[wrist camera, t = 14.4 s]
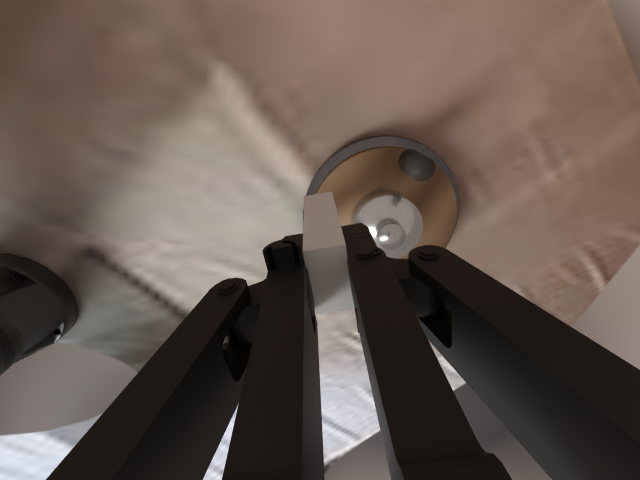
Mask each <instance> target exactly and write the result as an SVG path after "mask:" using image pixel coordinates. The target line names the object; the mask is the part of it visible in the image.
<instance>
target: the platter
mask: <svg viewBox="0 0 640 480" xmlns="http://www.w3.org/2000/svg"><path fill="white" fill-rule="evenodd" d="M381 189H391V190H395V191H398V192H400V193H402V194H404V195H405V196H406V197H407V198H408V199H409V200H410V201H411V202H412V203H413V204H414V205H415V206H416V207H417V209H418V210H419V212H420V213H421V216H422V219H423V232H422V236H421V238H420V240H419V242H418V244H417V245H416V246H415V247H414V248H416V247H419V246H423V245H434V246H440V247H443V248H446V246H447V244H448V243H449V241H450V239H451V236H452V234H453V231H454V228H455V225H456V219H457V202H456V196H455V192H454V189H453V187H452V184H451V182H450V180H449V179H448V177H447V176H446V174H445V173H444V172H443V171H442V169H441V168H440V167H439V166H438V165H437V164H435V163H434V161H433V160H432V159H431V158H429V157H427V156H425V155H423V154H421V153H419V152H418V151H416V150H414V149H406V148H402V147H395V146H379V147H374V148H369V149H366V150H362V151H359V152H357V153H355V154H353V155H351V156H349V157H347V158H346V159H344V160H343V161H341V162H340V163H339V164H338V165H336V166H335V167H334V168H333V169H332V170H331V171H330V172H329V173H328V174H327V176H326V177H325V179H324V180H323V181H322V183H321V185H320V186H319V188H318V190H317V192H316V194H320V193H325V192H331V191H332V194H333V198H334V201H335V205H336V209H337V213H338V217H339V221H340V225H341V226H345V225H351V215H352V212H353V209H354V207H355V206H356V204H357V203H358V202H359V201H360V200H361V199H362V198H363V197H364V196H366V195H367V194H369V193H371V192H373V191H376V190H381ZM408 254H409V253H408ZM408 254H406V255H405V256H403V257H401V258H398V259H408Z"/></svg>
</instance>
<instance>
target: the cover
mask: <svg viewBox="0 0 640 480" xmlns="http://www.w3.org/2000/svg"><path fill="white" fill-rule="evenodd" d="M357 223H363V224H364V225H366V226H368V228H369V230H370V232H371V234H372V237H373V239H374V241H375V243H376V245H377V247H378V248H381V249H382V250H383V251H384V252H385V254H386V256H387V257H390V258H397V259H398V258H401V257H403V256H405V255H406V254H408V253H409V252H410V251H411V250H412V249H414V247H415V246H416V245H417V244H418V242H419V240H420V238H421V236H422V232H423V219H422V216H421V213H420V212H419V210H418V209H417V207H416V206H415V205H414V204H413V203H412V202H411V201H410V200H409V199H408V198H407V197H406V196H405V195H404V194H402V193H400V192H398V191H395V190H391V189H381V190H376V191H373V192H371V193H369V194H367V195H366V196H364V197H363V198H362V199H361V200H360V201H359V202H358V203H357V204H356V206H355V207H354V209H353V212H352V215H351V224H357Z"/></svg>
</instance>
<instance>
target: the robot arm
mask: <svg viewBox="0 0 640 480" xmlns="http://www.w3.org/2000/svg"><path fill="white" fill-rule="evenodd" d="M263 255H264V258H265V262H266V266H267V269H268V274H267V278H266V279H265V280H263V281H261V282H259V283H256V284H253V285H250V286H248V285H247V282H246V280H244V279H242V278H232V279H231V278H229V279H226V280H223V281H221V282H220V283H218V284H216V285H215V286H213V287H212V288H211V289H210V290H209V291H208V293H207V294H206V295H205V296H204V297H203V298H202V299H201V301H200V302H199V303H198V304H197V305H196V306H195V308H194V309H193V310H192V311H191V312H190V313H189V315H188V316H187V317H186V318H185V319H184V320H183V321H182V323H181V324H180V325H179V326H178V327H177V328H176V330H175V331H174V332H173V333H172V334H171V335H170V337H169V338H168V339H167V340H166V341H165V342H164V343H163V345H162V346H161V347H160V348H159V349H158V350H157V352H156V353H155V354H154V355H153V356H152V357H151V359H150V360H149V361H148V362H147V363H146V364H145V366H144V367H143V368H142V369H141V370H140V371H139V372H138V374H137V375H136V376H135V377H134V378H133V379H132V381H131V382H130V383H129V384H128V385H127V386H126V388H125V389H124V390H123V391H122V392H121V393H120V394H119V396H118V397H117V398H116V399H115V400H114V401H113V403H112V404H111V405H110V406H109V407H108V408H107V410H106V411H105V412H104V413H103V414H102V415H101V416H100V418H99V419H98V420H97V421H96V422H95V423H94V425H93V426H92V427H91V428H90V429H89V430H88V432H87V433H86V434H85V435H84V436H83V437H82V438H81V440H80V441H79V442H78V443H77V444H76V445H75V447H74V448H73V449H72V450H71V451H70V452H69V454H68V455H67V456H66V457H65V458H64V459H63V460H62V462H61V463H60V464H59V465H58V466H57V467H56V469H55V470H54V471H53V472H52V473H51V474H50V476H49V477H48V478H47V479H46V480H203V478H204V476H205V473H206V471H207V469H208V467H209V465H210V463H211V461H212V459H213V456H214V454H215V452H216V450H217V448H218V446H219V444H220V441H221V439H222V437H223V435H224V433H225V431H226V429H227V427H228V424H229V422H230V420H231V418H232V416H233V414H234V412H235V410H236V407H237V405H238V403H239V405H238V410H237V414H236V419H235V423H234V428H233V432H232V437H231V441H230V446H229V450H228V455H227V459H226V464H225V468H224V473H223V477H222V480H324V459H323V438H322V416H321V395H320V374H319V353H318V332H317V320H316V316H315V312H316V314H323V313H329V312H335V311H342V310H348V309H354V308H355V313H356V320H357V327H358V333H360V338H361V342H362V347H363V351H364V356H365V361H366V365H367V370H368V374H369V379H370V384H371V388H372V393H373V397H374V402H375V407H376V411H377V416H378V421H379V425H380V430H381V434H382V438H383V443H384V448H385V453H386V457H387V462H388V466H389V471H390V476H391V480H512V479H511V477H510V475H509V474H508V472H507V471H506V469H505V467H504V466H503V464H502V462H501V461H500V460H499V459H498V458H497V457H496V456H495V455H494V454H492V453H488V452H485V451H484V450H483V449H482V448H481V446H480V444H479V442H478V441H477V439H476V437H475V435H474V433H473V431H472V429H471V427H470V425H469V423H468V420H467V419H466V416H465V414H464V412H463V410H462V408H461V406H460V404H459V402H458V400H457V399H456V396H455V394H454V392H453V390H452V388H451V386H450V384H449V382H448V380H447V378H446V376H445V374H444V372H443V370H442V368H441V366H440V364H439V362H438V359H437V357H436V355H435V353H434V351H433V349H432V347H431V345H430V343H429V341H430V342H431V343H432V344H433V345H434V347H435V348H436V349H437V350H438V351H439V352H440V353H441V354H442V356H443V357H444V358H445V359H446V360H447V361H448V362H449V364H450V365H451V366H452V367H453V368H454V369H455V370H456V371H457V373H458V374H459V375H460V376H461V377H462V378H463V379H464V380H465V382H466V383H467V384H468V385H469V386H470V387H471V388H472V390H473V391H474V392H475V393H476V394H477V395H478V396H479V397H480V398H481V400H482V401H483V402H484V403H485V404H486V405H487V406H488V408H489V409H490V410H491V411H492V412H493V413H494V414H495V416H497V418H498V419H499V420H500V421H501V422H502V423H503V425H504V426H505V427H506V428H507V429H508V430H509V431H510V432H511V434H512V435H513V436H514V437H515V438H516V439H517V440H518V441H519V443H520V444H521V445H522V446H523V447H524V448H525V449H526V450H527V452H528V453H529V454H530V455H531V456H532V457H533V458H534V460H535V461H536V462H537V463H538V464H539V465H540V466H541V467H542V469H543V470H544V471H545V472H546V473H547V474H548V475H549V477H551V479H552V480H640V370H639V369H637V368H636V367H634V366H632V365H631V364H629V363H628V362H626V361H625V360H623V359H621V358H620V357H618V356H617V355H615V354H613V353H612V352H610V351H609V350H607V349H605V348H604V347H602V346H601V345H599V344H597V343H596V342H594V341H593V340H591V339H589V338H588V337H586V336H585V335H583V334H581V333H580V332H578V331H577V330H575V329H573V328H572V327H570V326H569V325H567V324H565V323H564V322H562V321H561V320H559V319H557V318H556V317H554V316H553V315H551V314H549V313H548V312H546V311H545V310H543V309H541V308H540V307H538V306H537V305H535V304H533V303H532V302H530V301H529V300H527V299H525V298H524V297H522V296H521V295H519V294H517V293H516V292H514V291H513V290H511V289H509V288H508V287H506V286H505V285H503V284H501V283H500V282H498V281H497V280H495V279H493V278H492V277H490V276H489V275H487V274H485V273H484V272H482V271H481V270H479V269H477V268H476V267H474V266H473V265H471V264H469V263H468V262H466V261H465V260H463V259H461V258H460V257H458V256H457V255H455V254H453V253H452V252H450V251H449V250H447V249H445V248H443V247H440V246H434V245H423V246H419V247H416V248H414V249H412V250H411V251H410V252H409V254H408V259H397V258H390V257H387V256H386V254H385V252H384V251H383V250H382V249H381V248H378V247H377V245H376V243H375V241H374V239H373V237H372V234H371V232H370V230H369V228H368V226H366V225H364V224H363V223H357V224H351V225H345V226H341V225H340V221H339V217H338V213H337V209H336V205H335V201H334V198H333V194H332V191H331V192H325V193H320V194H314V195H308V196H304V221H303V234H297V235H291V236H285V237H284V238H283V239H282V240H279V241H275V242H273V243H271V244H269V245H267V246H266V247H265V248H264V249H263ZM76 318H77V306H76V302H75V299H74V297H73V295H72V293H71V292H70V290H69V289H68V287H67V286H66V285H65V284H64V282H63V281H62V280H61V279H60V278H58V277H57V276H56V275H55V274H54V273H52V272H51V271H50V270H48V269H47V268H45V267H43V266H42V265H40V264H38V263H36V262H34V261H31V260H29V259H26V258H23V257H19V256H14V255H8V254H0V375H1V374H3V373H4V372H5V371H6V370H7V369H8V368H9V367H11V366H12V365H13V364H14V363H16V362H18V361H20V360H22V359H24V358H26V357H28V356H30V355H32V354H34V353H36V352H38V351H40V350H42V349H44V348H46V347H48V346H50V345H52V344H54V343H55V342H57V341H58V340H59V339H61V338H62V337H63V336H64V335H65V334H66V333H67V332H68V331H69V330H70V329H71V328H72V327H73V325H74V323H75V321H76ZM224 340H225V343H224V345H223V342H224ZM428 340H429V341H428Z"/></svg>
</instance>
